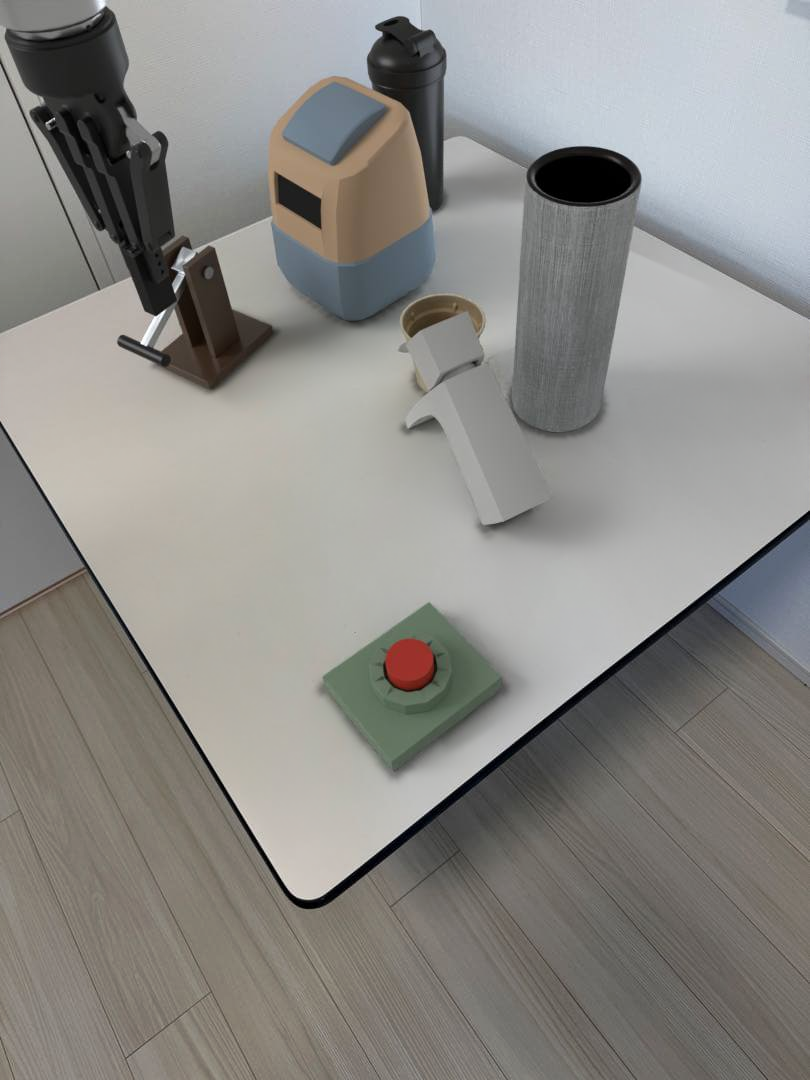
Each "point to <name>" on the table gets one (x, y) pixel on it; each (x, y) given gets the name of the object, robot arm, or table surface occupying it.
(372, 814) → the table surface
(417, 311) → the flower pot
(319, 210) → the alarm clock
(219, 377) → the brown lever stand
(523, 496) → the faucet
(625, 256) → the vase
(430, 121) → the water bottle
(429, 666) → the button
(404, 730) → the button box
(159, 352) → the tap lever
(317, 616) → the table surface
